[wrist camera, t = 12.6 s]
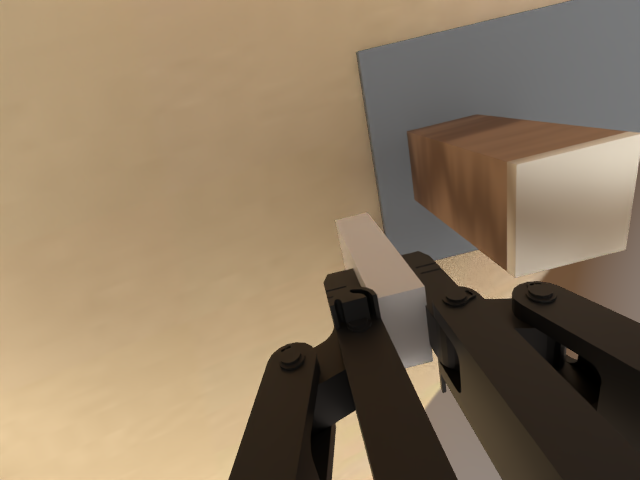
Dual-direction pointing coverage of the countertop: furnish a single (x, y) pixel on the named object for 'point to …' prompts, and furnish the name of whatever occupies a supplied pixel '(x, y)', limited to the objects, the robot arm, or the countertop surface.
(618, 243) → the block
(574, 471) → the robot arm
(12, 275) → the countertop surface
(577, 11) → the mat
